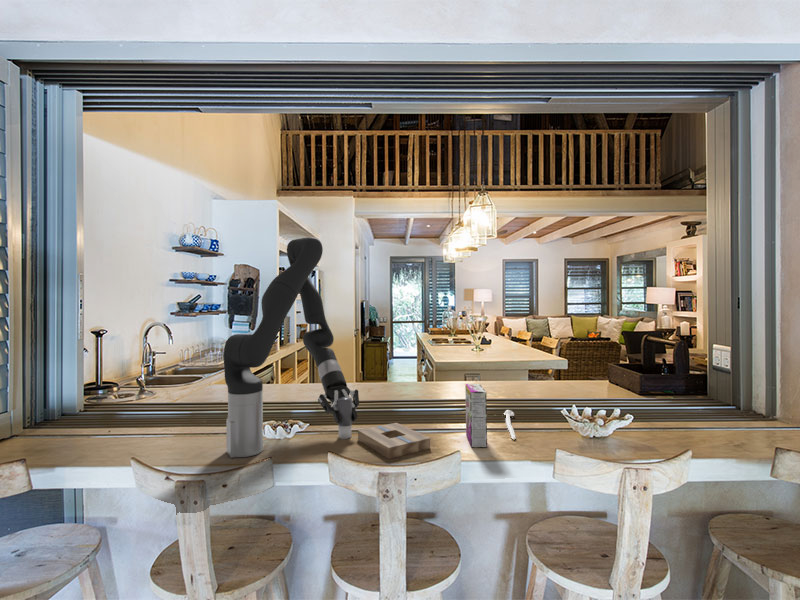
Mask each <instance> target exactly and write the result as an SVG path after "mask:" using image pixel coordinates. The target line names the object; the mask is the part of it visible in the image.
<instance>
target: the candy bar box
mask: <svg viewBox="0 0 800 600" xmlns="http://www.w3.org/2000/svg"><path fill="white" fill-rule="evenodd" d="M464 385H465V387H464V390H465V391H464V393H465V435H466V438H467V440H468V442H469V445H470V448H472V447H487V448H488V427H487V426H488V419H487V418H488V417H487V416H488V414H487V412H488V411H487V410H488V409H487V408H488V407H487V391H486V390H485V389H484V387H483V386H482V385H481V383H465V384H464Z"/></svg>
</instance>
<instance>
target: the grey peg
mask: <svg viewBox="0 0 800 600" xmlns="http://www.w3.org/2000/svg"><path fill="white" fill-rule="evenodd" d="M352 402H353V398H352V397H350V396H349V397H340V398H338V410H339V412H340V415H341V418H342V423H341V424H338V423H337V426H338V438H339V439H341V440H347V439H350V438H352V424H353V421H352Z"/></svg>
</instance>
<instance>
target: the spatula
mask: <svg viewBox="0 0 800 600" xmlns="http://www.w3.org/2000/svg"><path fill="white" fill-rule="evenodd" d="M503 414H504V415H506V418H505V426H506V425H507V427H506V429H507V428H508V429H507V431H508V430H509V432H510V434H509V436H510V435H511V437H510V439H511V438H512V439H516V440H517V436H516V433H515V429H514V428H513V426H512V421H511V418H510V416H515V413H514V412H513V410H510V409H506V410H505V411H504V413H503ZM509 432H508V433H509ZM512 439H511V440H512Z"/></svg>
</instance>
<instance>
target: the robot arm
mask: <svg viewBox="0 0 800 600" xmlns="http://www.w3.org/2000/svg"><path fill="white" fill-rule="evenodd" d="M323 249H324V248H323V245H322V242H321V241H320V239H318V238H317V237H314V236H308V237H307V236H306V237H302V238H295V239H292V240H290V241H289V242H288V243H287V246H286V255H287V260H288V263H289V266H288V267H287V268H286V269H284V270H283V271H282V272H280V273H279V274H278V275H276V277H274V279H273V280H272V281H271V282H270V284H269V285H267V288H266V289H265V292H263V295H262V298H261V311H262V312H261V313H262V319H261V321H260V323H259V325H258V327H257V328H256V330H255V331H254V332H253V333H252V334H249V333H248V334H246V333H245V334H244V333H239V334H237V333H236V334H232V335H230V336H229V337H228V339H226V342H225V344H224V347H223V370H224V382H225V384H226V386H227V418H226V421H225V422H226V424H225V425H226V432H225V433H226V453H227V455H228V456H229V458H231V459H232V458H246V457H251V456H255V455H258V454H260V453H261V452H262V451H264V435H263V434H264V430H263V429H264V421H263V420H264V419H263V417H264V415H263V414H264V411H263V409H264V407H263V406H264V405H263V404H264V402H263V401H264V397H263V393H264V392H263V391H264V389H263V388H264V387H263V386H264V384H263V383H264V382H263V380H262V379H261V378H260V377H258V376H256V375H255V374H254V373H253V372H252V370H251V368H259V367H261V366H262V365H264V363H265V362H266V361H267V359H268V357H269V355H270V353H271V351H272V348H273V346H274V344H275V341H276V339H277V337H278V333H279V331H280V329H281V327H282V325H283V323H284V321H285V319H286V317H287V315H288V313H289V312H290V311H291V308H292V307H293V305H294V304H295V302H296V300H297V298H298V295H299V296H300V300H301V305H302V311H303V316H304V320H305V323H306V324H307V325H319V326H320V328H317V329H313V330H309V331H308V330H307V331H306V332H305V333H303V337H302V342H303V346H304V347H305V349H306V350H307V351H308V352H309V354H310V355H311V356H312V358H313V360H314V361H315V365H316V367H317V370H318V376H319V380H320V382H321V385H322V388H323V391H324V392H325V393H324V394H322V393H320V394H319V396H318V399H317V402H318V403H319V404H320V406H321V407H322V409H323V410H324V411H325V413H326V414H332V415H333V418H334V421H335V423H337V425H338V424H341V423H342V418H341V415H340V412H339V410H338V398H340V397H350V396H351V398H352V423H353V422H356V421H357V418H358V414H357V412H356V411H357V408H358V406H359V405H360V397H359V390H358V389H355V390H351V389H350V388H349V387H348V385H347V381H346V378H345V375H344V373H343V371H342V367H341V365H340V364H339V362H338V359H337V356H336V355H335V352H334V349H332V348H330V347H332V345H333V343H334V335H333V334H334V333H333V332H332V330H331V328H330V326H329V324H328V321H327V319H326V315H325V309H324V304H323V300H322V297H321V294H320V293H319V291H318V290H317V288H316V287H315V285H314V283H313V282H312V281H311V279H310V275H311V273H312V272H313V271H314V269H315V268H316V266H317V265H318V264H319V263H320V261H321V258H322V256H323V252H324V251H323ZM328 400H329V402H328Z"/></svg>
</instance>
